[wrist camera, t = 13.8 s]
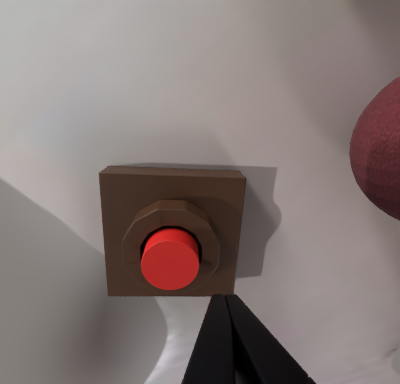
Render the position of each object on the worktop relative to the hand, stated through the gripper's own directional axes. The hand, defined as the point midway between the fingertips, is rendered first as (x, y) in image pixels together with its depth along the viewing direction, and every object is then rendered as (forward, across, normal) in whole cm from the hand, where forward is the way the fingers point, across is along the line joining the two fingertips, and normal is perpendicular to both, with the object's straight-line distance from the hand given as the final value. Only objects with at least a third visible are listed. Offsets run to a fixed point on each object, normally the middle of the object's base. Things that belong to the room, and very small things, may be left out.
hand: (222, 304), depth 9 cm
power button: (+8, +2, +3) cm, 9 cm away
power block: (+12, +2, +3) cm, 12 cm away
